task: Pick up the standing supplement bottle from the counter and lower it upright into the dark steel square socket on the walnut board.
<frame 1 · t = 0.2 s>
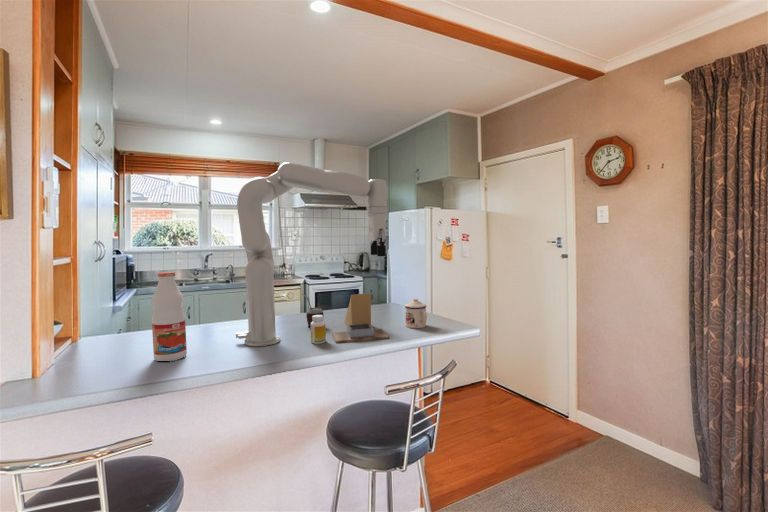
hand: (378, 255, 149), 31 cm above the counter, tool pointing down, fingers open, 9 cm apart
supplement bottle: (318, 342, 139), on the counter
sandwich container: (357, 326, 163), on the counter
fruit juice: (170, 358, 124), on the counter
mate gourd: (314, 327, 160), on the counter
socket board: (360, 336, 145), on the counter
teacup with lid: (417, 327, 159), on the counter
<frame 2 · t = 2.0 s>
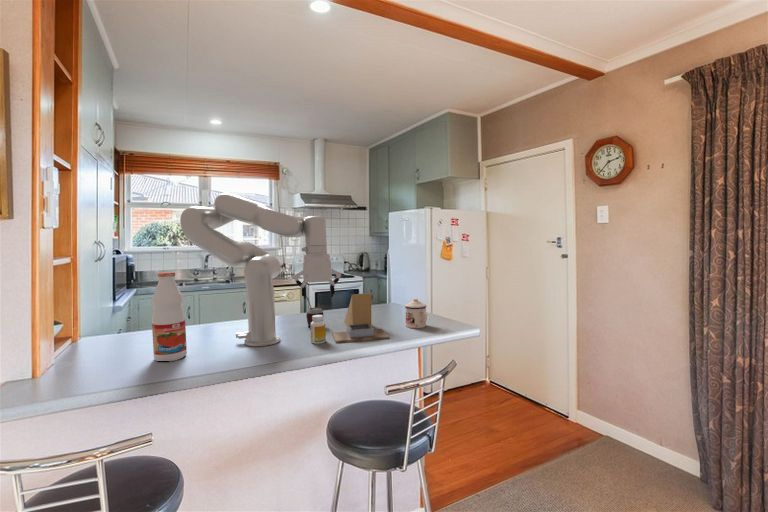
hand: (318, 297, 138), 17 cm above the counter, tool pointing down, fingers open, 9 cm apart
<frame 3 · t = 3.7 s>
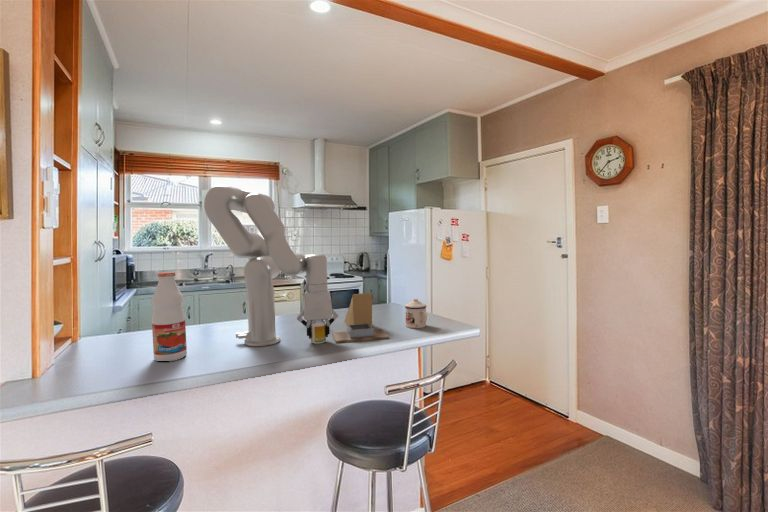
hand: (318, 336, 139), 2 cm above the counter, tool pointing down, fingers closed on supplement bottle, 5 cm apart
supplement bottle: (318, 342, 139), on the counter, touching gripper
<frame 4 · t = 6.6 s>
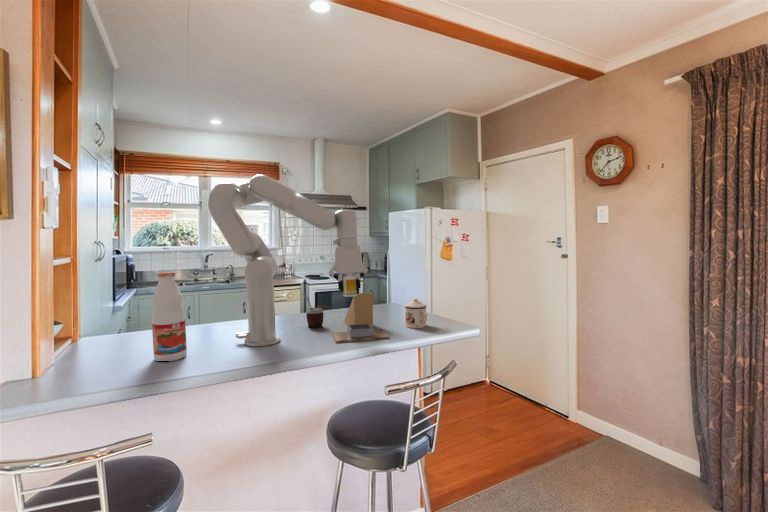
hand: (349, 290, 142), 18 cm above the counter, tool pointing down, fingers closed on supplement bottle, 5 cm apart
supplement bottle: (349, 296, 143), point 16 cm above the counter, touching gripper
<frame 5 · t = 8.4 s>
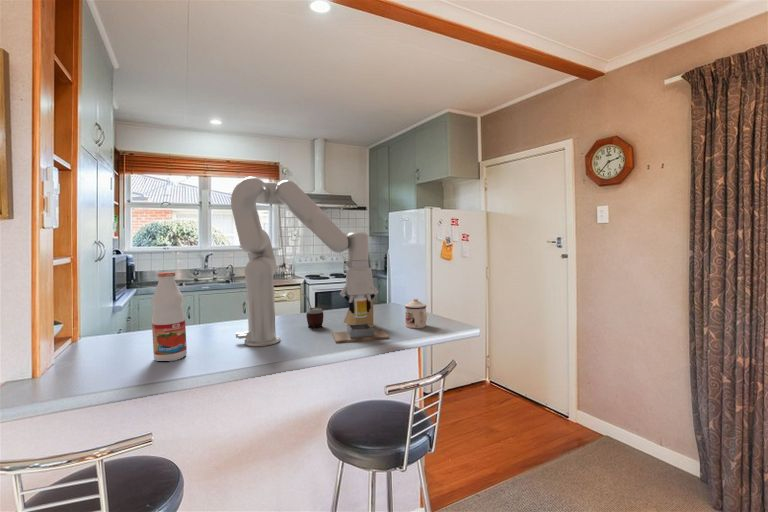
hand: (359, 311, 145), 10 cm above the counter, tool pointing down, fingers closed on supplement bottle, 5 cm apart
supplement bottle: (360, 317, 145), point 8 cm above the counter, touching gripper
when the fingers open (5 cm above the counter, at t = 9.7 s): supplement bottle drops 2 cm, resting on socket board.
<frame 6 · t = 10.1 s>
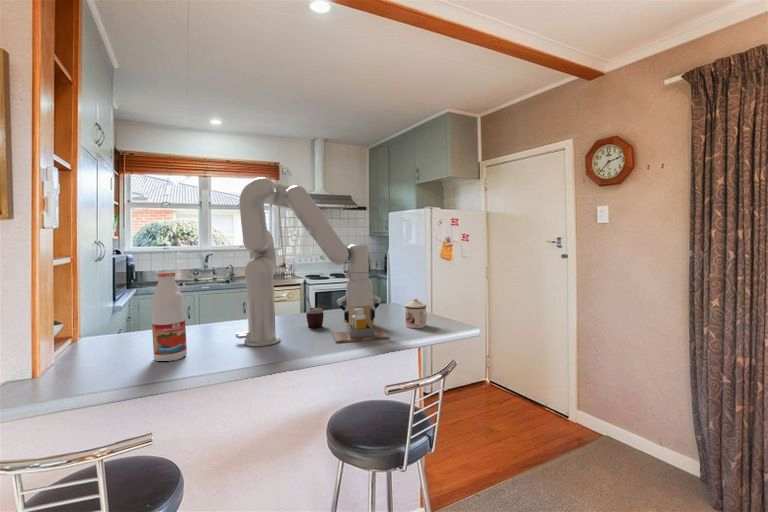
hand: (359, 320, 145), 6 cm above the counter, tool pointing down, fingers open, 9 cm apart
supplement bottle: (359, 334, 145), point 1 cm above the counter, touching socket board
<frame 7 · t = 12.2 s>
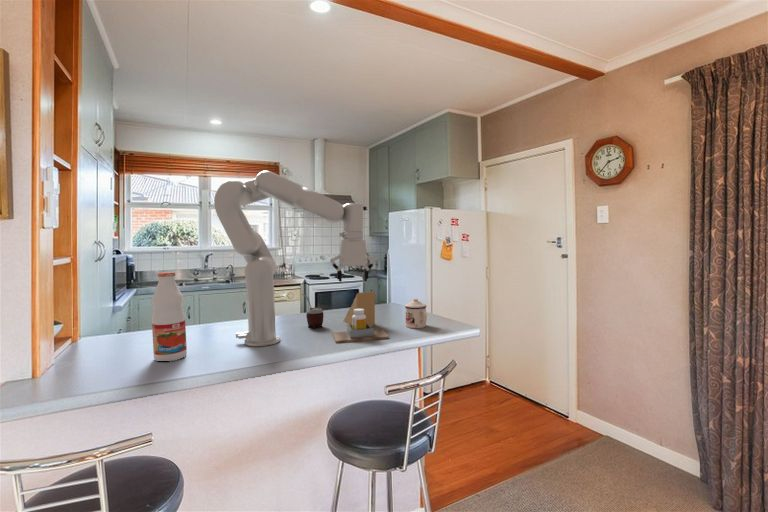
hand: (352, 281, 144), 21 cm above the counter, tool pointing down, fingers open, 9 cm apart
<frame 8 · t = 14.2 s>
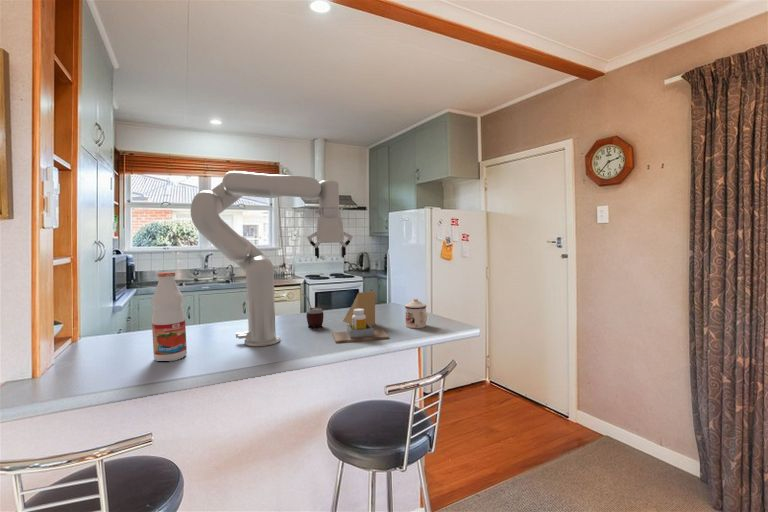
hand: (330, 257, 146), 30 cm above the counter, tool pointing down, fingers open, 9 cm apart
at the end: supplement bottle 0.3 cm off-centre on the socket board, point 0.6 cm above the socket board's base; supplement bottle tilted 0°; the gripper is holding nothing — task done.
